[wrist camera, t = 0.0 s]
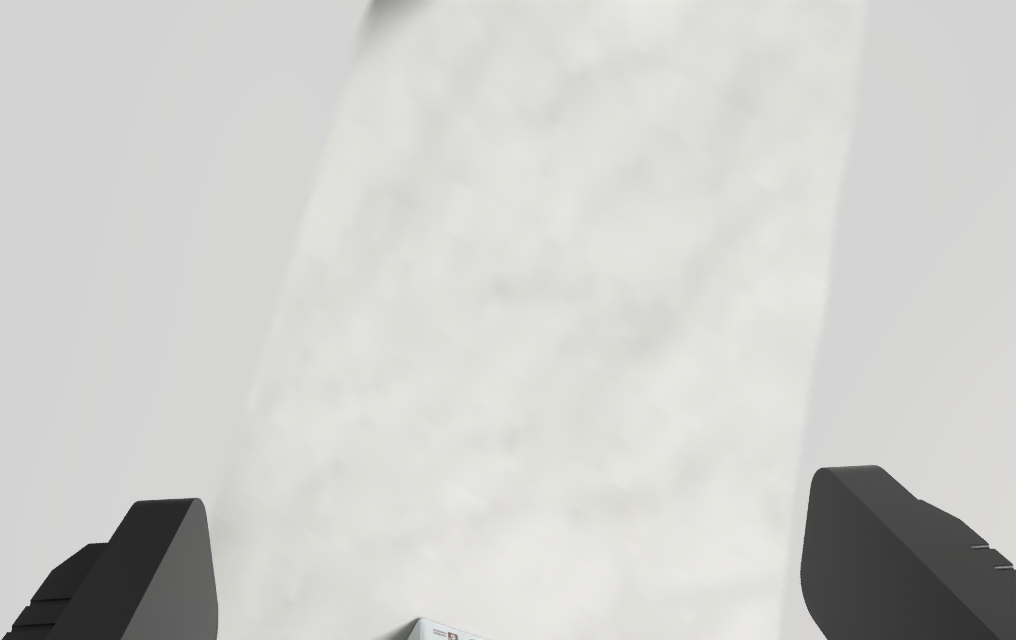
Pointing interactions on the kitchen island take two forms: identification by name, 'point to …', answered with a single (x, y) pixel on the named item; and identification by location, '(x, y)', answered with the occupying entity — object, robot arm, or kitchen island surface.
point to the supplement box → (439, 632)
